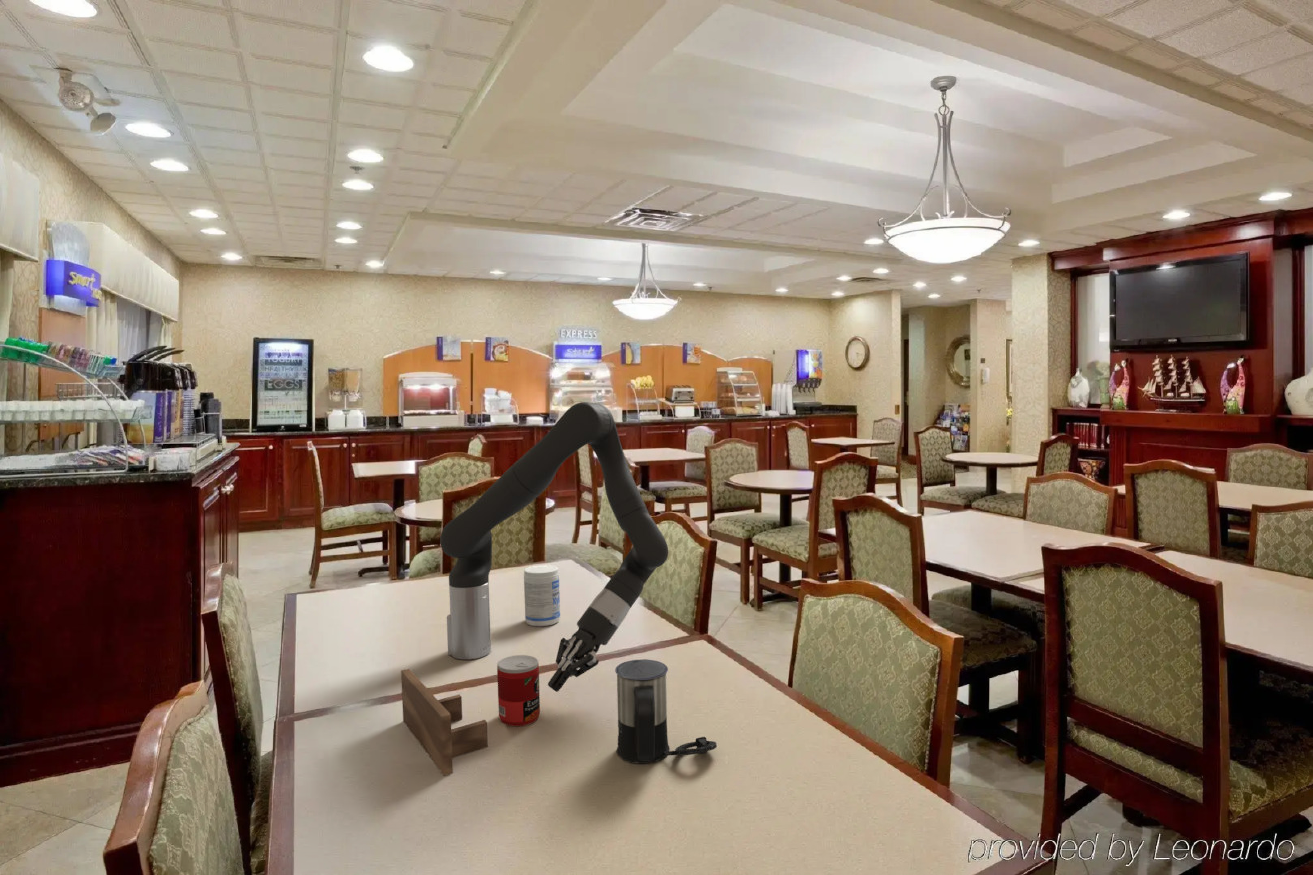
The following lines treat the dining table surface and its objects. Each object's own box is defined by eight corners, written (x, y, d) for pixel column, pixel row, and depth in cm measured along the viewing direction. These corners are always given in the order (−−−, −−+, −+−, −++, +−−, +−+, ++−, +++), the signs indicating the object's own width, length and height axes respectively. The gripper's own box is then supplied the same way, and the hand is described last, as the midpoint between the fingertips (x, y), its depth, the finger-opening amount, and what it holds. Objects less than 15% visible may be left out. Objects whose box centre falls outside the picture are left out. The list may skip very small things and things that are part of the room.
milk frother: (609, 744, 126) (607, 663, 125) (689, 726, 133) (688, 649, 132) (638, 785, 113) (636, 694, 112) (725, 763, 119) (724, 677, 118)
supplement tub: (561, 625, 191) (560, 571, 190) (526, 629, 188) (524, 574, 187) (558, 614, 200) (557, 563, 199) (524, 617, 198) (522, 565, 197)
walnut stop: (451, 708, 142) (450, 659, 141) (498, 758, 122) (496, 701, 122) (403, 721, 136) (401, 670, 136) (443, 775, 117) (441, 716, 116)
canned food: (531, 728, 133) (530, 671, 132) (491, 725, 134) (489, 668, 134) (546, 710, 140) (544, 656, 139) (508, 707, 142) (506, 653, 141)
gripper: (577, 598, 151) (525, 668, 145) (609, 614, 140) (554, 690, 134) (599, 618, 154) (549, 687, 148) (632, 634, 144) (580, 710, 137)
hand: (552, 688), depth 141 cm, fingers closed
